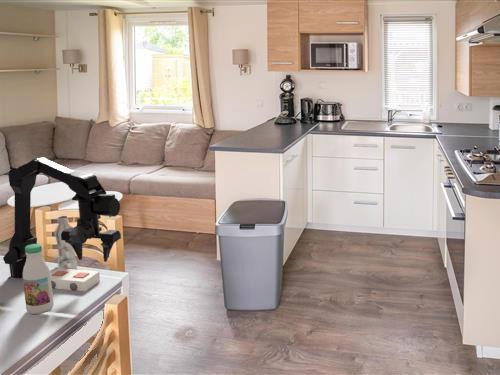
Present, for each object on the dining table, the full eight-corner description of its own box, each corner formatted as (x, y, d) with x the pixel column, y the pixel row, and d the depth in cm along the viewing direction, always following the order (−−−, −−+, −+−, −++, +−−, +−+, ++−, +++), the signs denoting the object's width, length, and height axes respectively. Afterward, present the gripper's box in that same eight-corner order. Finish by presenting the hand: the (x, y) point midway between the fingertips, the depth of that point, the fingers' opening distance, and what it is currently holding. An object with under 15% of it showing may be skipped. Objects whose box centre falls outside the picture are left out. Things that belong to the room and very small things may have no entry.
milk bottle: (33, 303, 168) (25, 241, 164) (57, 303, 168) (51, 241, 164) (22, 315, 161) (14, 250, 157) (48, 314, 161) (40, 250, 156)
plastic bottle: (80, 268, 198) (75, 214, 193) (73, 275, 191) (67, 220, 187) (63, 267, 198) (58, 214, 194) (55, 274, 192) (49, 219, 188)
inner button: (52, 279, 181) (51, 274, 181) (59, 275, 184) (58, 270, 184) (61, 280, 180) (61, 275, 180) (68, 276, 183) (67, 271, 183)
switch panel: (40, 289, 179) (38, 277, 179) (57, 278, 188) (56, 267, 187) (84, 293, 175) (83, 281, 174) (100, 282, 184) (99, 270, 183)
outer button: (73, 281, 179) (73, 276, 178) (79, 277, 182) (79, 272, 182) (83, 282, 178) (82, 277, 177) (89, 278, 181) (88, 273, 181)
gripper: (47, 219, 169) (52, 267, 172) (101, 222, 164) (105, 271, 167) (68, 210, 179) (73, 255, 182) (119, 212, 174) (123, 259, 177)
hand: (93, 260), depth 177 cm, fingers open, 9 cm apart
